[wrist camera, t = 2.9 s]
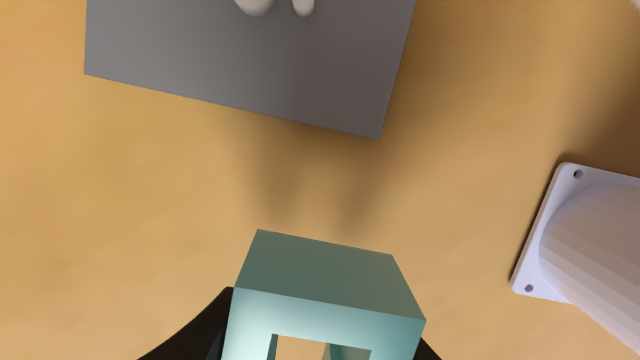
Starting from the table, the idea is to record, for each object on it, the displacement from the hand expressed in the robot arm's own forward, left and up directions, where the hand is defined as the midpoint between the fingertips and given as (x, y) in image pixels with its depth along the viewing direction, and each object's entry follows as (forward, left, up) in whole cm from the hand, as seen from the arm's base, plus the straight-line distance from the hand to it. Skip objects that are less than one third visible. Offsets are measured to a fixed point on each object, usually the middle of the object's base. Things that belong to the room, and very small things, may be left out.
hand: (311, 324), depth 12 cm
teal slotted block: (0, 0, -1) cm, 1 cm away
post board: (+5, -12, -6) cm, 14 cm away
